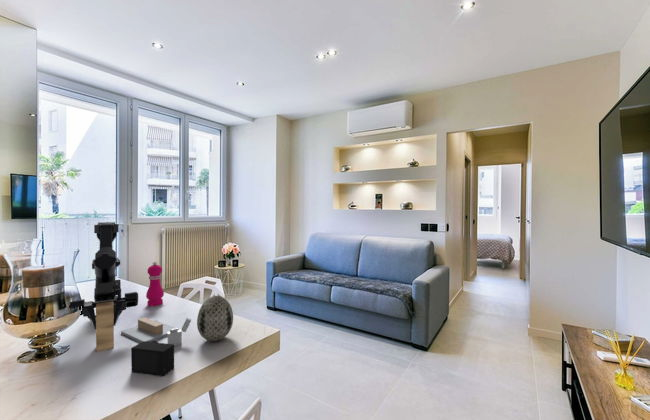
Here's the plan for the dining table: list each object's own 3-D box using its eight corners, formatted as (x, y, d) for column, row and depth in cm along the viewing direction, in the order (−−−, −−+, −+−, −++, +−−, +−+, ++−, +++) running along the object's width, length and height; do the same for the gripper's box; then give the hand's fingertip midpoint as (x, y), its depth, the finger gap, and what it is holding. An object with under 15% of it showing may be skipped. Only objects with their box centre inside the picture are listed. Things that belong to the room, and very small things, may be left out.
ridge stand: (121, 333, 106) (121, 322, 106) (154, 322, 116) (154, 312, 116) (144, 344, 98) (144, 332, 98) (178, 331, 108) (178, 320, 108)
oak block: (97, 346, 97) (96, 303, 97) (113, 342, 99) (113, 301, 99) (96, 351, 93) (95, 307, 93) (113, 347, 96) (113, 304, 96)
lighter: (167, 347, 96) (167, 322, 96) (167, 344, 98) (167, 320, 98) (191, 342, 100) (191, 318, 100) (190, 340, 101) (190, 317, 101)
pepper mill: (167, 301, 142) (166, 260, 142) (157, 306, 135) (156, 263, 134) (153, 301, 143) (152, 260, 142) (142, 306, 135) (142, 263, 135)
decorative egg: (189, 344, 98) (188, 299, 98) (214, 330, 109) (214, 290, 109) (217, 350, 94) (216, 303, 94) (240, 335, 105) (240, 293, 105)
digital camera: (177, 366, 85) (177, 342, 85) (164, 376, 80) (163, 351, 80) (146, 362, 87) (146, 338, 87) (131, 372, 82) (131, 347, 82)
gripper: (68, 276, 94) (63, 321, 85) (137, 269, 105) (140, 308, 96) (71, 294, 100) (67, 339, 91) (136, 286, 111) (138, 324, 102)
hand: (105, 327), depth 95 cm, fingers closed on oak block, 4 cm apart
